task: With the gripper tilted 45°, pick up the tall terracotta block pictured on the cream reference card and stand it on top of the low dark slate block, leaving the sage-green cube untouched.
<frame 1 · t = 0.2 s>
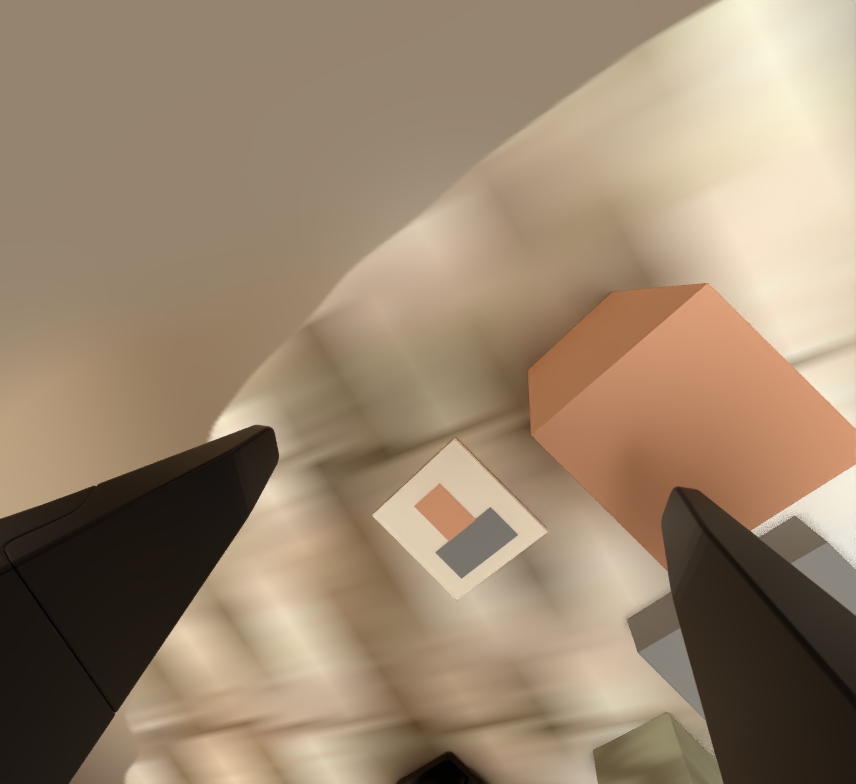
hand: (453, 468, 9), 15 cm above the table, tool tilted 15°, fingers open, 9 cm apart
sage cube: (661, 763, 27), on the table
terracotta block: (606, 370, 23), on the table
slate base block: (768, 632, 24), on the table
reference card: (456, 520, 27), on the table
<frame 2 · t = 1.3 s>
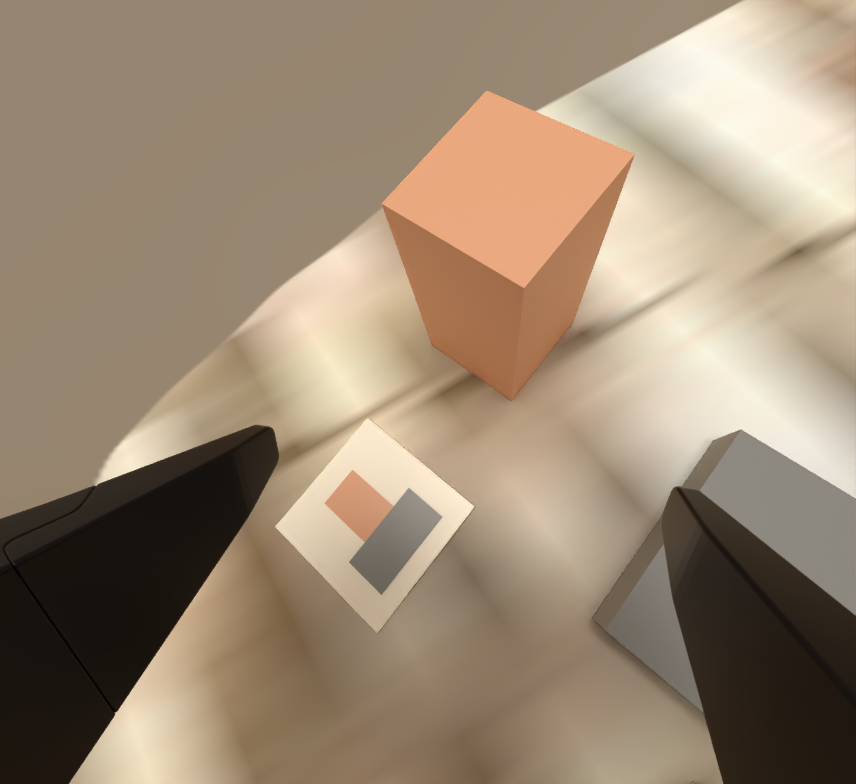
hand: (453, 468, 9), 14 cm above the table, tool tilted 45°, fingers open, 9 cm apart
terracotta block: (500, 334, 25), on the table
slate base block: (760, 604, 19), on the table
reference card: (373, 517, 23), on the table
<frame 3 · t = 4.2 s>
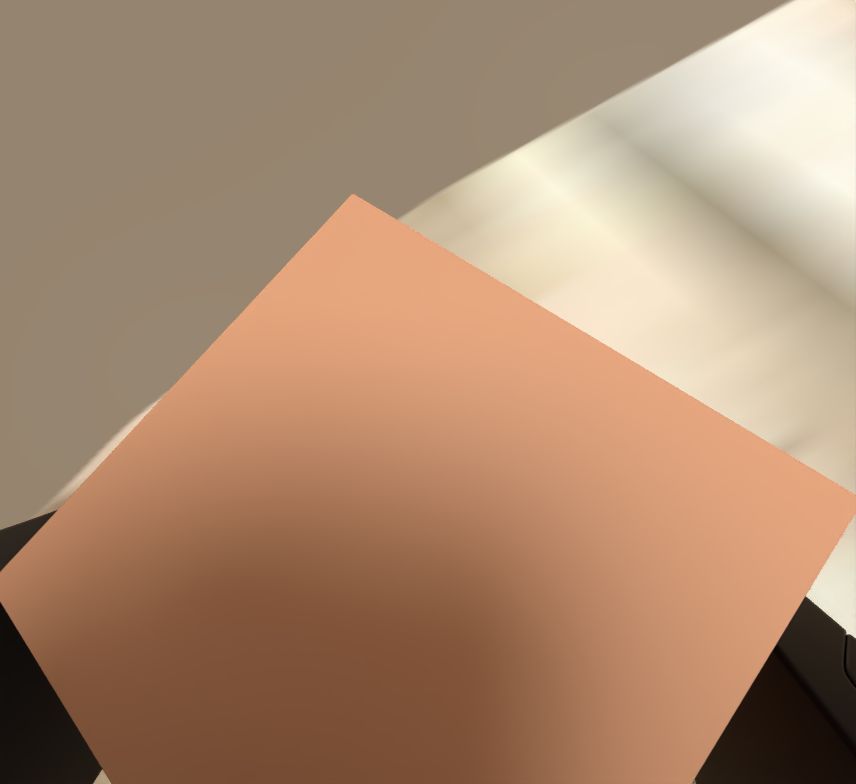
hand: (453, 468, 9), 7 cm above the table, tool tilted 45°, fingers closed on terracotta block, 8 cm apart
terracotta block: (464, 528, 15), on the table, touching gripper
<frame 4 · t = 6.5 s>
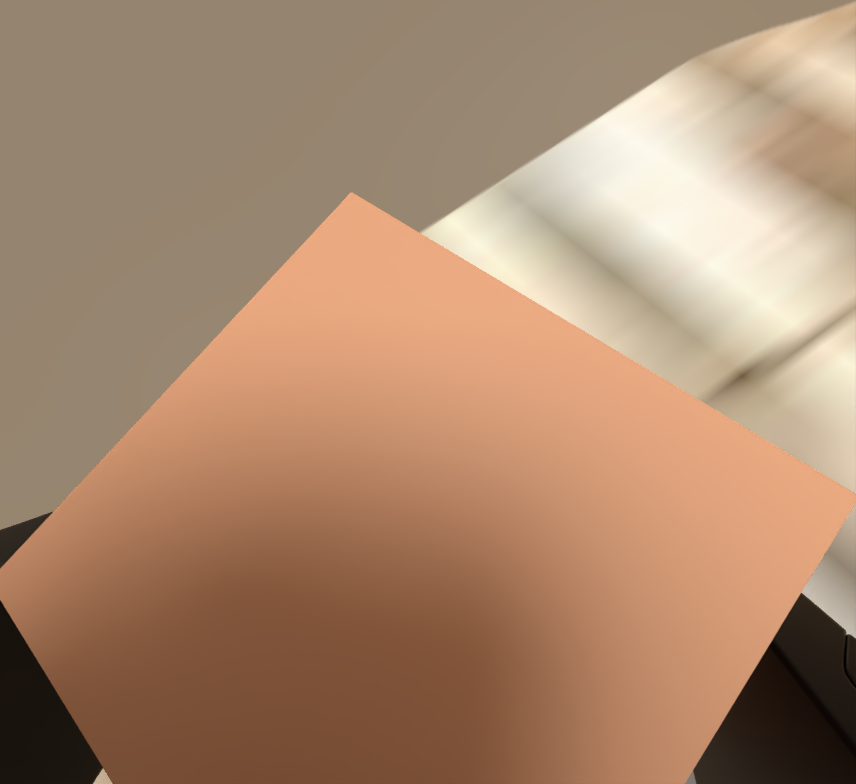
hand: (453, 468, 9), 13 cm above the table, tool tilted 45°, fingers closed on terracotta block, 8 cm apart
terracotta block: (463, 528, 15), point 7 cm above the table, touching gripper
when the fingers open (11 cm above the table, at t = 9.0 s): terracotta block drops 2 cm, resting on slate base block.
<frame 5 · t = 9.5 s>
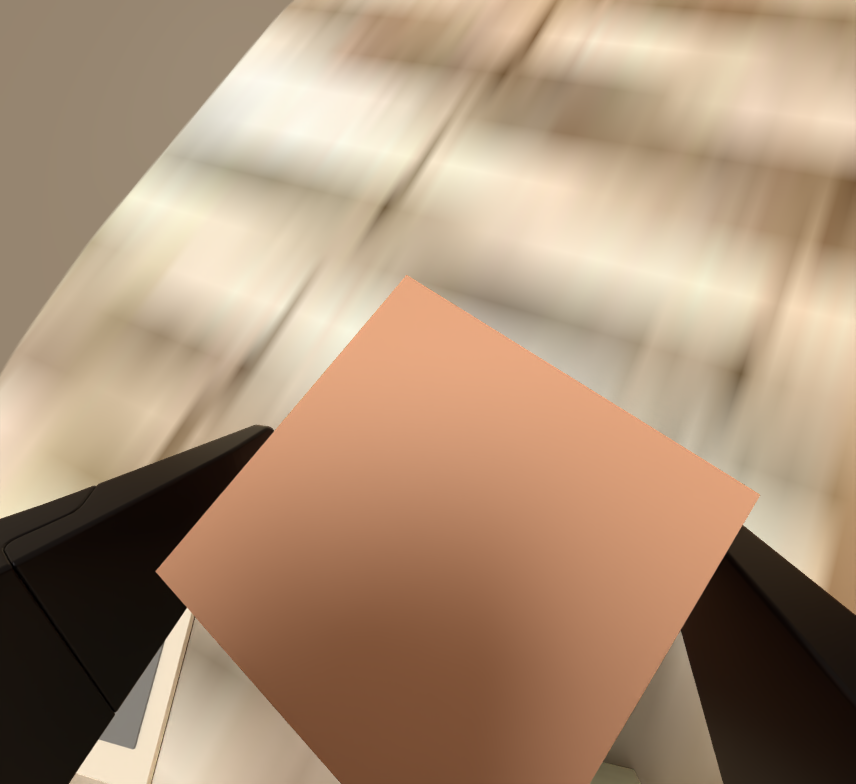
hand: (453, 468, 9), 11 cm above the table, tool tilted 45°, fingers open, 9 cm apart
terracotta block: (469, 527, 17), point 2 cm above the table, touching slate base block
reference card: (105, 668, 20), on the table
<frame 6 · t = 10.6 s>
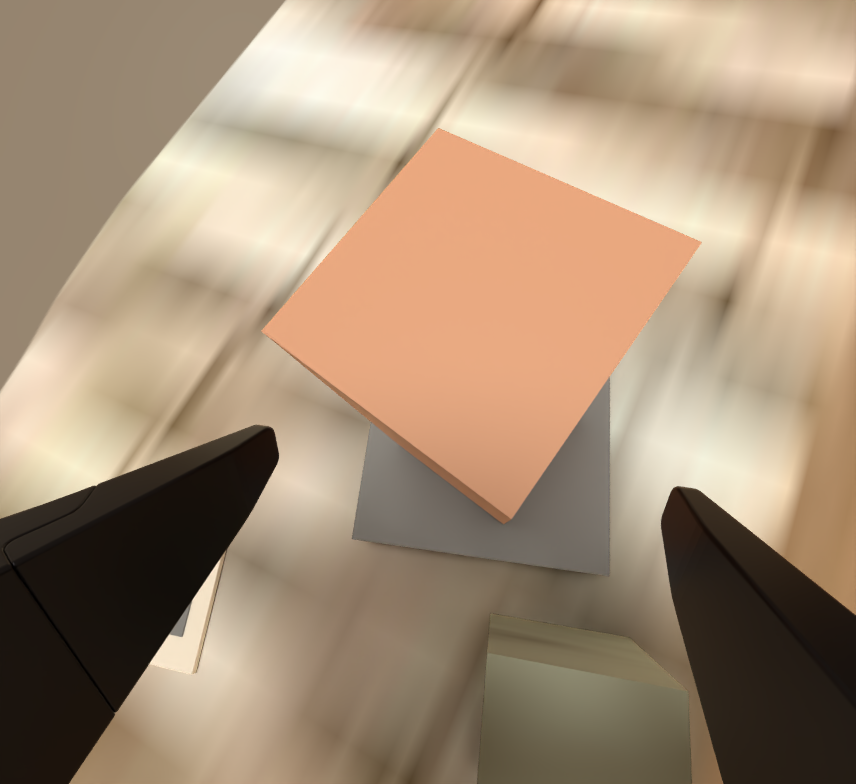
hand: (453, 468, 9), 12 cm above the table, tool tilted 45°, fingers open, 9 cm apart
sage cube: (554, 701, 18), on the table
terracotta block: (486, 429, 19), point 2 cm above the table, touching slate base block
slate base block: (485, 442, 22), on the table, touching terracotta block
reference card: (152, 572, 22), on the table
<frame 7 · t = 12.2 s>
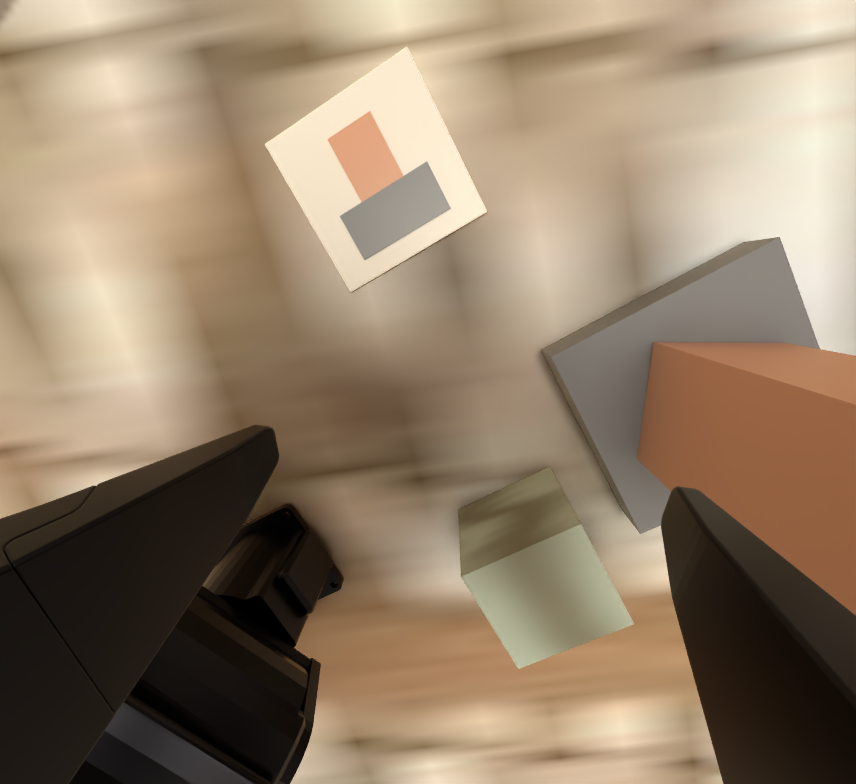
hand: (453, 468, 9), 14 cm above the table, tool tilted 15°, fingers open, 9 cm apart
sage cube: (525, 527, 25), on the table
terracotta block: (707, 403, 20), point 2 cm above the table
slate base block: (671, 385, 23), on the table
reference card: (377, 179, 21), on the table
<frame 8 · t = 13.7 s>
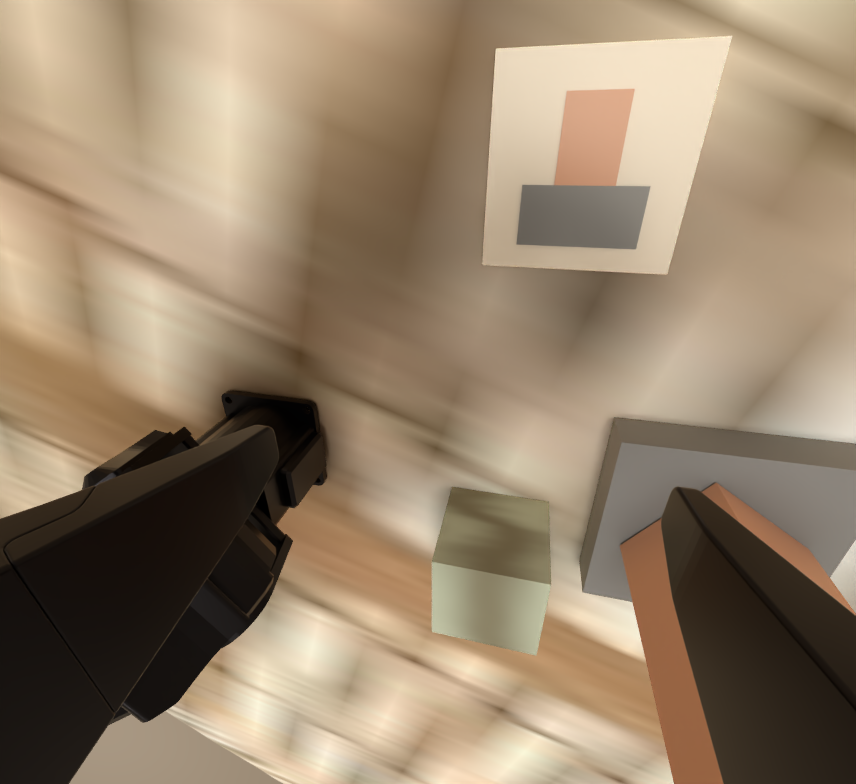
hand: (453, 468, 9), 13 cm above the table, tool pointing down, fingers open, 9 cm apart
sage cube: (495, 527, 28), on the table
terracotta block: (709, 547, 21), point 2 cm above the table
slate base block: (694, 503, 24), on the table
reference card: (586, 168, 17), on the table
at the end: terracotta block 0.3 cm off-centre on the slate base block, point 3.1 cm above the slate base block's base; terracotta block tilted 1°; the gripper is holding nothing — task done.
